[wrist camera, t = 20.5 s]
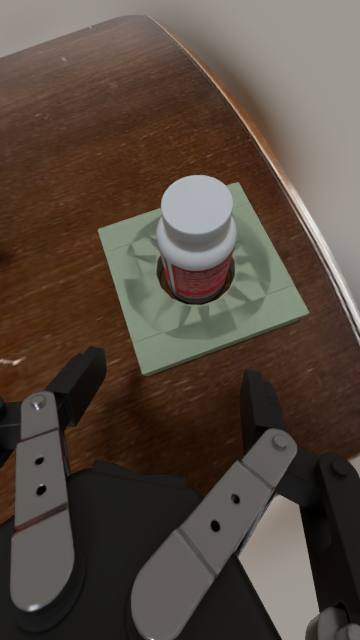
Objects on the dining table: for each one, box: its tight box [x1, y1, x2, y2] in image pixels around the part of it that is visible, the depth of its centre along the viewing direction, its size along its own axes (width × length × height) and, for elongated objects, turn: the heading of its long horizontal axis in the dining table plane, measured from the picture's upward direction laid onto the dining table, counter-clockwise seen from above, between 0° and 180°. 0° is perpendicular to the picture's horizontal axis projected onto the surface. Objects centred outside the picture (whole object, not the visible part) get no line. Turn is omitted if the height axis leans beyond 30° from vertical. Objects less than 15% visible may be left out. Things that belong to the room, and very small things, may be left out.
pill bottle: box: [157, 175, 237, 304], centre depth 21 cm, size 6×6×11 cm
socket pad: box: [98, 182, 309, 376], centre depth 25 cm, size 16×16×2 cm
